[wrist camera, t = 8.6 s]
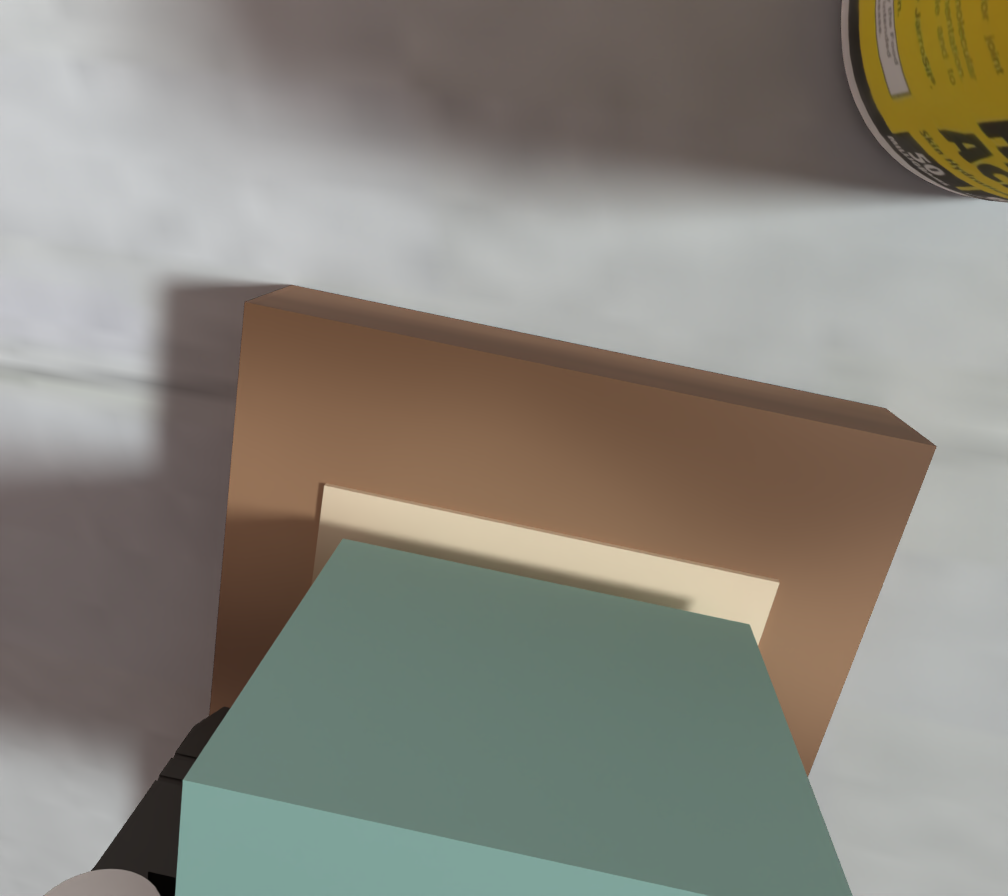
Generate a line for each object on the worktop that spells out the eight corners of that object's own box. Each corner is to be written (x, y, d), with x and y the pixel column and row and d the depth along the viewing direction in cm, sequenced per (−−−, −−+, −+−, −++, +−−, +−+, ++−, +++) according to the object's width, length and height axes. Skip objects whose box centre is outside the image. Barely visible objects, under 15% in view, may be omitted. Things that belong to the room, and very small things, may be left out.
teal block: (343, 537, 12) (182, 779, 7) (749, 624, 12) (864, 930, 7) (301, 853, 14) (154, 1207, 9) (648, 929, 14) (685, 1332, 9)
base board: (292, 285, 13) (242, 302, 11) (885, 408, 13) (939, 448, 11) (234, 839, 17) (189, 924, 15) (692, 942, 17) (707, 1042, 15)
